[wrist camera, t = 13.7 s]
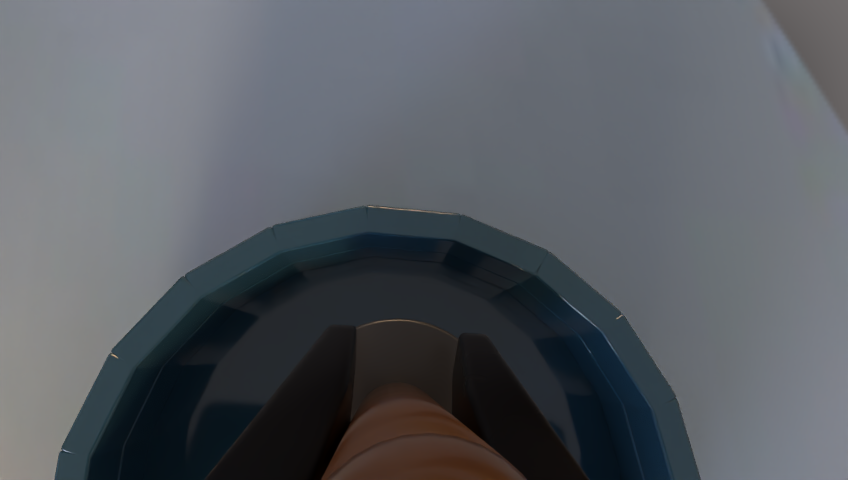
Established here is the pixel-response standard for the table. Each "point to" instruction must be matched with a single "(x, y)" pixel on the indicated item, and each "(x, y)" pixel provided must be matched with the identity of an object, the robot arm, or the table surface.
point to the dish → (359, 304)
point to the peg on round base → (409, 412)
